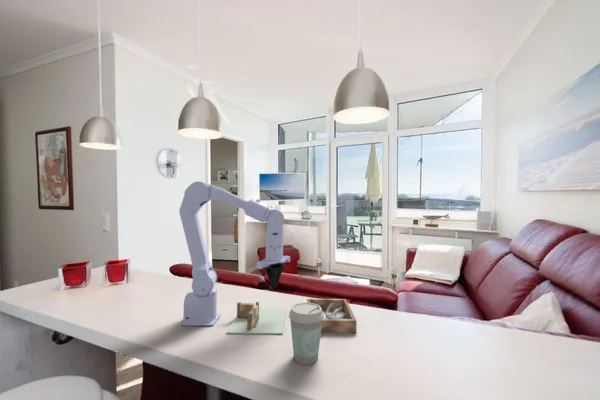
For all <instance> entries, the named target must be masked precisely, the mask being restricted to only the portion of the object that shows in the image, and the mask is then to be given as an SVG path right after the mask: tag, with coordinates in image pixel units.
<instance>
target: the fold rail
mask: <svg viewBox="0 0 600 400" xmlns="http://www.w3.org/2000/svg"><path fill="white" fill-rule="evenodd" d="M257 319H258V305H256V304H254V307H253V308H252V310H251V311H250V312H249V313H248V314H247V329H248V330H250V329H252V327H253V325H254V324H255V322H256V321H257Z"/></svg>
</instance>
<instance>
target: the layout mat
mask: <svg viewBox="0 0 600 400" xmlns="http://www.w3.org/2000/svg"><path fill="white" fill-rule="evenodd" d="M286 313H287V308H261V307H259V318H258V319H257V321H256V322H255V324H254V325H253V327H252V329H250V330H248V329H247V317H241V318H237V315H236V316H235V318H234V319H233V321H232V323H231V325H230V326H229V328H228V330H227V331H226V334H227V335H283V334H284V333H283V332H284V326H285V320H286V319H285V318H286Z"/></svg>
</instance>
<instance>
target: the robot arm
mask: <svg viewBox="0 0 600 400" xmlns="http://www.w3.org/2000/svg"><path fill="white" fill-rule="evenodd" d="M219 200H221V201H222V202H226V203H228V204H230V205H233V206H235V207H238V208H240V209H242V210H243V211H244V214H245V216H247V217H250V218H252V219H253V220H256V221H259V222H261V223H266V232H265V258H263V259H262V260H260V261H257V262H255V263H256V264H255V268H256V269H259V270H263V269H264V271H265V272H266V273H265V274H266V275H267V278H268V280H269V286H270V287H271V288H274V289H275V288H278V287H279V286H278V285H279V283H280V279H281V275H282V273H283V271H284V269H285V266H286V265H285V264H283V263H290V262H291V256H290V255H284V231H283V230H284V223H285V217H284V214H283V213H282V212H281V211H280V210H277V209H274V207H273V206H272V205H270V206H269V205H267V204H264V203H262V202H261V200H260V199H255V198H253V199H249V200H246V199H244V198H242V197H240V196H238V195H236V194H234V193H233V192H230V191H228V190H226V189H224V188H222V187H219V186H215V185H212V184H208V183H205V182H203V181H194V182H192V183H190V185H189V186H188V187H187V188H186V189H185V190H184V195H183V198H182V201H181V204H180V206H179V210H178V212H179V216H180V220H181V225H182V228H183V233H184V236H185V240H186V244H187V249H188V252H189V253H188V254H189V256H190V261H191V264H192V269H191V270H192V271H191V275H192V281H191V282H192V283H191V290H192V291H191V292H187V293H186V295H185V297H184V300H183V315H182V316H183V318H182V319H183V322H182V323H181V326H187V327H189V326H194V327H195V326H196V327H198V326H199V327H200V326H201V327H202V326H203V327H204V326H206V327H211V326H212V327H213V326H215V323H216V322H217V321H218V320H219V318H220V317H221V313H217V306H218V305H217V303H218V301H217V297H218V296H217V295H218V293H217V292H218V290H217V288H216V286H215V284H216V282H217V281H218V274H217V272H216V271H215V270H214V268H213V265H212V263H211V261H210V259H209V257H208V252H207V249H206V245H205V239H204V237H203V236H204V235H203V232H202V227H201V225H200V224H201V223H200V220H199V216H198V213H199V212H200V210H201V209H202V208H203V206H204V205H205V204H207V203H208V202H209V201H219Z"/></svg>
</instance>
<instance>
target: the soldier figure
mask: <svg viewBox="0 0 600 400" xmlns="http://www.w3.org/2000/svg"><path fill="white" fill-rule="evenodd" d="M332 305H333V303H332V304H330V305H329V306H328V308H327V310H325V319H345V318H346V315H347V314H346V313H345V312H344V313H343V314H340V316H337V315H338V313H339V312H340V311H342V310H341V309H342V307H340V308H338V309H336V310H333V313H329V312H330V311H331V310H330V307H332ZM344 317H345V318H344Z"/></svg>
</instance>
